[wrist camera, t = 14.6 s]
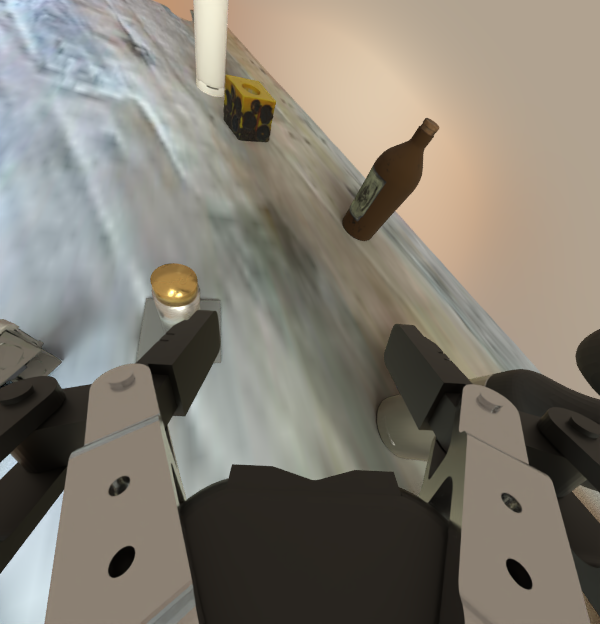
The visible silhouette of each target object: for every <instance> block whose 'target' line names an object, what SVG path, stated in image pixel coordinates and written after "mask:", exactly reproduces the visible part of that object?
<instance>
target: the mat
mask: <svg viewBox="0 0 600 624" xmlns="http://www.w3.org/2000/svg"><path fill="white" fill-rule="evenodd" d="M200 310H211V311H216V312H217V314H218V321H219V330H220V339H221V326H220V301H216V300H200ZM163 335H166V334H165V331H164V328H163V325H162V322H161V319H160V316H159V313H158V310H157V307H156V304H155V301H154V299H147V298H146V303H145V309H144V315H143V322H142V328H141V334H140V340H139V347H138V353H137V359H136V362H137V361H138V360H139V359H140V358H141V357H142V356H143V355H144V354H145V353H146V352H147V351H148V350H149V349H150V348H151V347H152V346H153V345H154V344H155V343H156V342H157V341H159V339H160V338H161V337H162V336H163ZM214 363H221V345H220V350H219V353H218V355H217V357H216V359H215V361H214Z"/></svg>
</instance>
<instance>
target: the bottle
mask: <svg viewBox="0 0 600 624" xmlns="http://www.w3.org/2000/svg"><path fill="white" fill-rule="evenodd" d="M227 19H228V0H194V28H195V58H196V75H197V77H196V85H197V87H198V88H199V89H200V90H201V91H203V92H204V93H206V94H208V95H211V96H214V97H223V96H224V84H225V63H226V41H227ZM207 86H210V87H213V88H217V89H218V90H215V89H212V88H209V87H207Z"/></svg>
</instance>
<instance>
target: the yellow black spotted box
mask: <svg viewBox="0 0 600 624" xmlns="http://www.w3.org/2000/svg"><path fill="white" fill-rule="evenodd" d="M225 82H226V83H225V100H224V121H225V122H226V124H227V125H228V126H229V128H230V129H231V130H232V131H233V133H234V134H235V135H236V137H237V139H239V140H244V141H261V142H268V141H269V136H270V131H271V123H272V118H273V113H274V108H275V105H276V101H275V100H274V99H273V98H272V96H271V95H270V94H269V93H268V92H267V91H266V89H265V88H264V87H263V86H262V85H261V83H260V82H259V81H254V80H249V79H245V78H240V77H236V76H231V75H226V77H225Z"/></svg>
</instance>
